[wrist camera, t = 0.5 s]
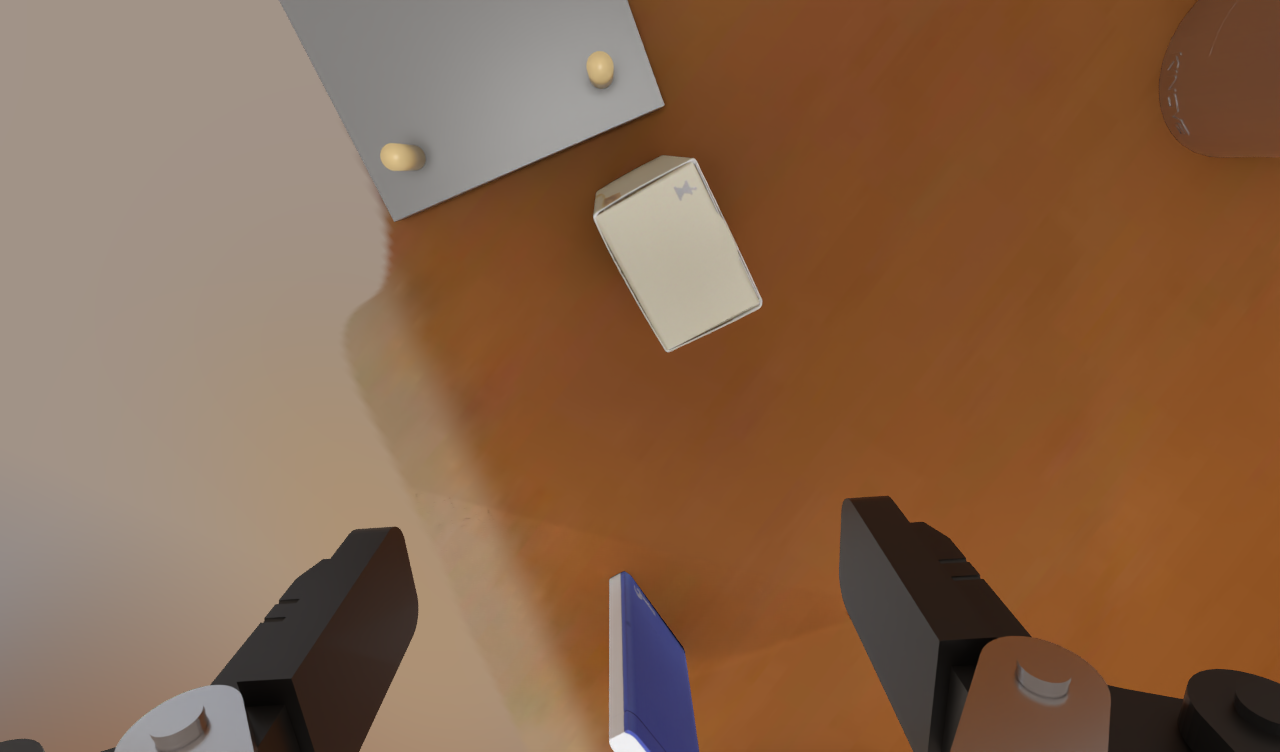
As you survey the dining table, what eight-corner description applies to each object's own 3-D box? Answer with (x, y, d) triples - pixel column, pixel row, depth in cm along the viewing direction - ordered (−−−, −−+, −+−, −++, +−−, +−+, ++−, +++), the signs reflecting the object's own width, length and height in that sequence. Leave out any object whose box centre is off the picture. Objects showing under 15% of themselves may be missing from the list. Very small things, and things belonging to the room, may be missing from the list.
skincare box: (593, 192, 34) (582, 206, 22) (664, 152, 33) (692, 145, 22) (648, 296, 36) (665, 359, 24) (716, 259, 35) (767, 306, 24)
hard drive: (626, 568, 41) (632, 728, 30) (687, 652, 44) (715, 829, 32) (606, 579, 42) (604, 742, 30) (668, 662, 44) (688, 842, 32)
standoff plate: (540, -232, 28) (527, -304, 24) (662, 108, 33) (669, 99, 28) (245, -89, 29) (182, -132, 25) (403, 219, 34) (373, 227, 30)
